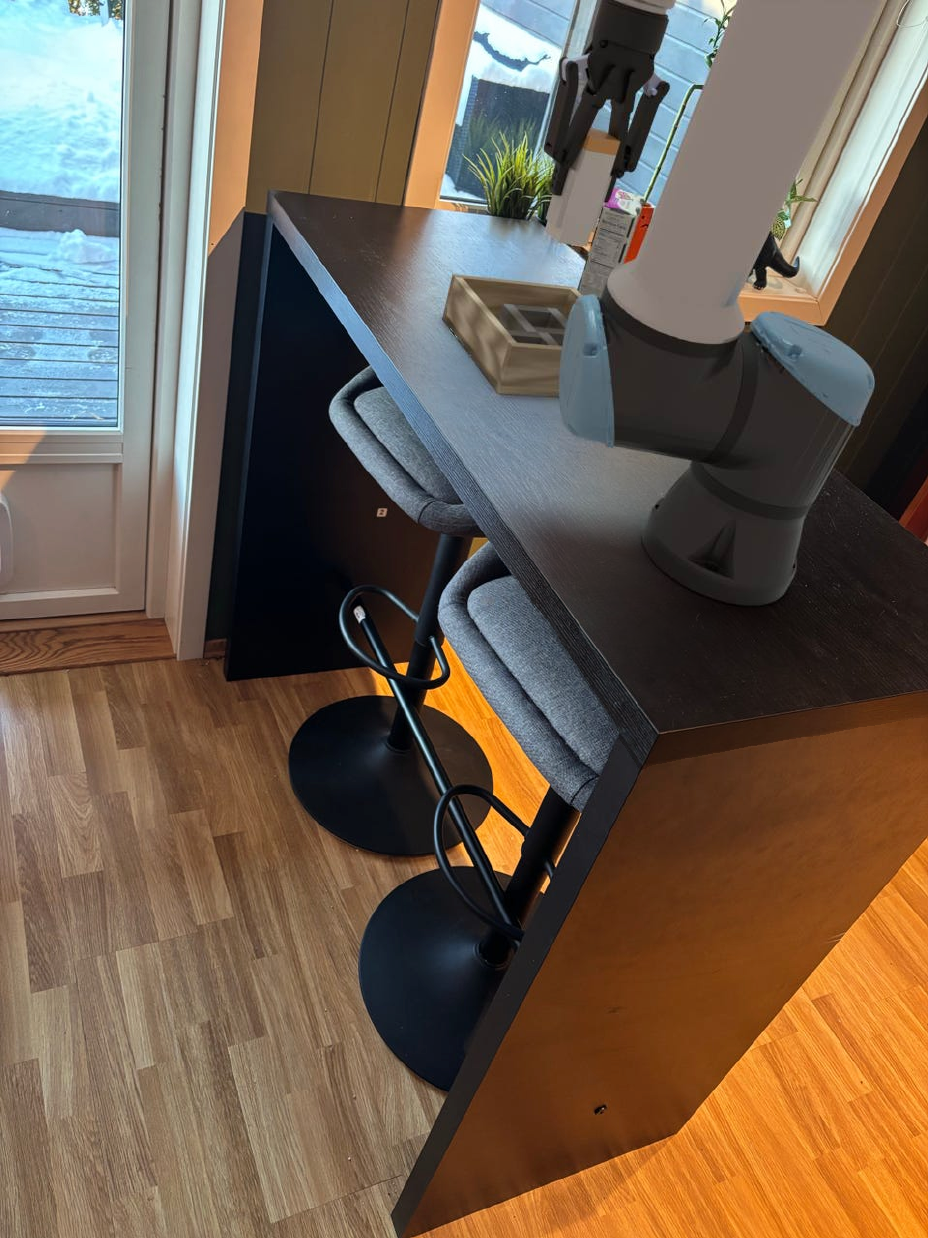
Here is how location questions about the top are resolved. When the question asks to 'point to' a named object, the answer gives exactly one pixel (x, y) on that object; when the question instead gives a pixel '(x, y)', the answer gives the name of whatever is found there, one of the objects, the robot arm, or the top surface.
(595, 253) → the candy bar box
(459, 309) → the walled box
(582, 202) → the plug
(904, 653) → the top surface
